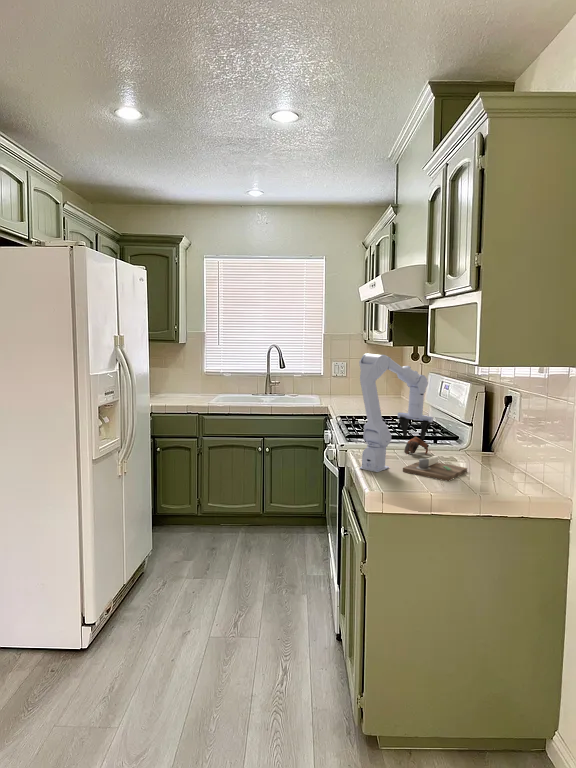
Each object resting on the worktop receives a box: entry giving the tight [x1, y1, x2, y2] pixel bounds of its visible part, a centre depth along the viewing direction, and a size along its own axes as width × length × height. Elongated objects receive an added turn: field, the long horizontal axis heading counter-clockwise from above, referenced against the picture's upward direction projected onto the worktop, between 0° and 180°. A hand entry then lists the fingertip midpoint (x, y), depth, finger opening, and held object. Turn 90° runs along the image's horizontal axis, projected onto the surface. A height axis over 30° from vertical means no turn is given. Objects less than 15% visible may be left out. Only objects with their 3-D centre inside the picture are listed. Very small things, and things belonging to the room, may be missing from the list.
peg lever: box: [418, 455, 439, 468], centre depth 218 cm, size 13×4×3 cm, turn 142°
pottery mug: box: [403, 436, 430, 455], centre depth 246 cm, size 12×10×8 cm
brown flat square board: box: [402, 461, 468, 482], centre depth 216 cm, size 18×18×2 cm
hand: (413, 437), depth 229 cm, fingers open, 7 cm apart
